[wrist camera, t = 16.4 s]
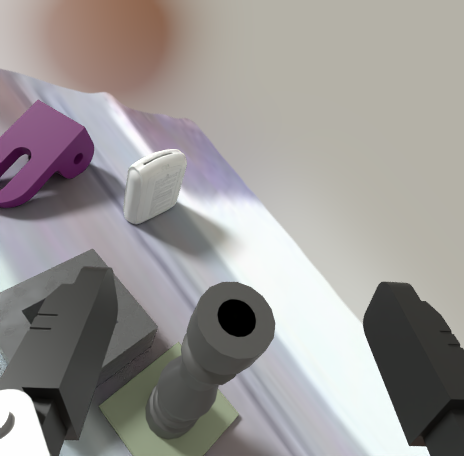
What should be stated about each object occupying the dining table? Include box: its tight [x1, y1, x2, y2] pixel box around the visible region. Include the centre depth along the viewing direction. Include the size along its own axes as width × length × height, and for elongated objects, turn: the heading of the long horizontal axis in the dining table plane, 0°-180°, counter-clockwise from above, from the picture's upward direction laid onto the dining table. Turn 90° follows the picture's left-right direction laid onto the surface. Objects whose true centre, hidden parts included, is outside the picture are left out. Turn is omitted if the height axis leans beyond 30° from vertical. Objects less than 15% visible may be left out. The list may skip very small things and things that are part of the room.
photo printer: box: [123, 149, 187, 224], centre depth 57 cm, size 10×4×12 cm, turn 139°
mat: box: [99, 342, 239, 456], centre depth 41 cm, size 12×12×1 cm
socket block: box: [0, 249, 158, 388], centre depth 41 cm, size 14×14×6 cm
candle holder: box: [145, 282, 275, 440], centre depth 32 cm, size 6×6×25 cm
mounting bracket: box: [0, 100, 94, 208], centre depth 57 cm, size 10×8×18 cm
